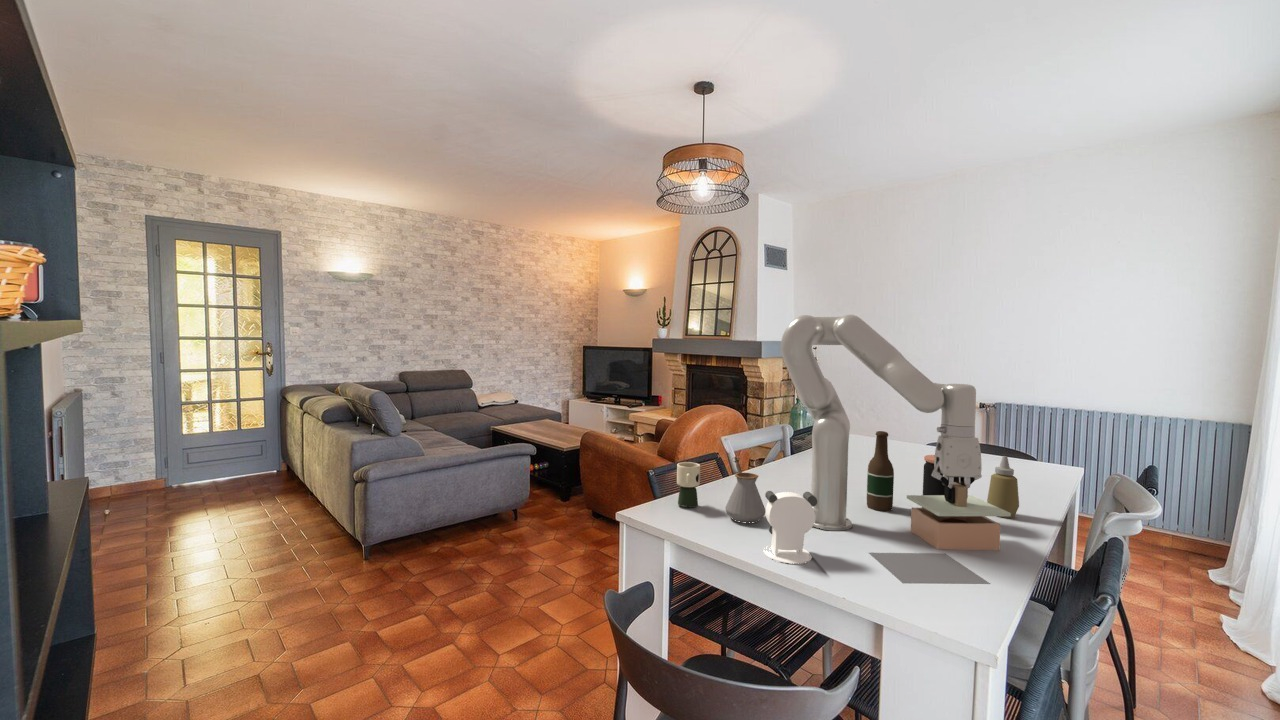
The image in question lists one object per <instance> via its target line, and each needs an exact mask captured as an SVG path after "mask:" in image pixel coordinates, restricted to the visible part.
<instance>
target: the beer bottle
mask: <svg viewBox="0 0 1280 720" xmlns="http://www.w3.org/2000/svg"><path fill="white" fill-rule="evenodd" d="M875 435H876V437H875V447H874V454H873V457H871V459H870V461H869V463H868V464H867V477H866V478H867V479H866V480H867V481H866V505H867V508H868V509H871V510H873V511H878V512H889V511H892V510H893V505H894V487H895V485H894V482H895V481H894V480H895V469H894V466H893V464H892V462H891V460H890V458H889V453H888V451H889V449H888V446H889V445H888V437H889V433H888V432H887V431H884V430H879V431H878V430H877V431H876V432H875Z"/></svg>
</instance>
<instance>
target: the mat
mask: <svg viewBox="0 0 1280 720" xmlns="http://www.w3.org/2000/svg"><path fill="white" fill-rule="evenodd" d="M868 554H869V555H870V556H871V557H872V558H873V559H875V560H876V561H877V562H878V563H879V564H880V565H882V566H883V568H885V569H886V570H888V572H889V573H890V574H891V575H893V576H894V577H895V578H896V579H897V580H898V581H900V582H901V583H902V584H944V585H945V584H949V585H950V584H951V585H952V584H956V585H957V584H958V585H959V584H962V585H963V584H964V585H970V584H971V585H972V584H973V585H974V584H975V585H978V584H979V585H990V584H991V582H990V581H988V580H987V579H984V577H982V576H980V575H978V574H977V573H975V572H974V571H972V570H971V569H969V568H968V567H967V566H965V565H964V564H962V563H960V562H959V561H957V560H956V559H955V558H954V557H952V556H950V555H949V554H947V553H944V552H943V553H941V552H940V553H939V552H938V553H936V552H935V553H933V552H930V553H929V552H928V553H927V552H926V553H925V552H868Z"/></svg>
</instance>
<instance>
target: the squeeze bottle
mask: <svg viewBox="0 0 1280 720" xmlns="http://www.w3.org/2000/svg"><path fill="white" fill-rule="evenodd" d="M1009 463H1010V462H1009V458H1008V456H1005V455H1003V456H1002V458H1001V461H1000V463H999V466H995V468H994V473H993V474H991V476H990V482H989V487H988V494H987V499H986V502H987V503H989V504H992V505H994V506H996V507H998V508H1001V509H1003V510H1005V511H1007V512H1009V513H1011V516H998V517H1000V518H1005V519H1011V518H1012V519H1013V518H1014V517H1015V515H1016V514H1017V512H1018V509H1019V508H1020V500H1019V499H1020V497H1019V485H1018V478H1017V477H1016V476H1014V473H1015V470H1014V469H1013V468H1011V467H1010V464H1009Z"/></svg>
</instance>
